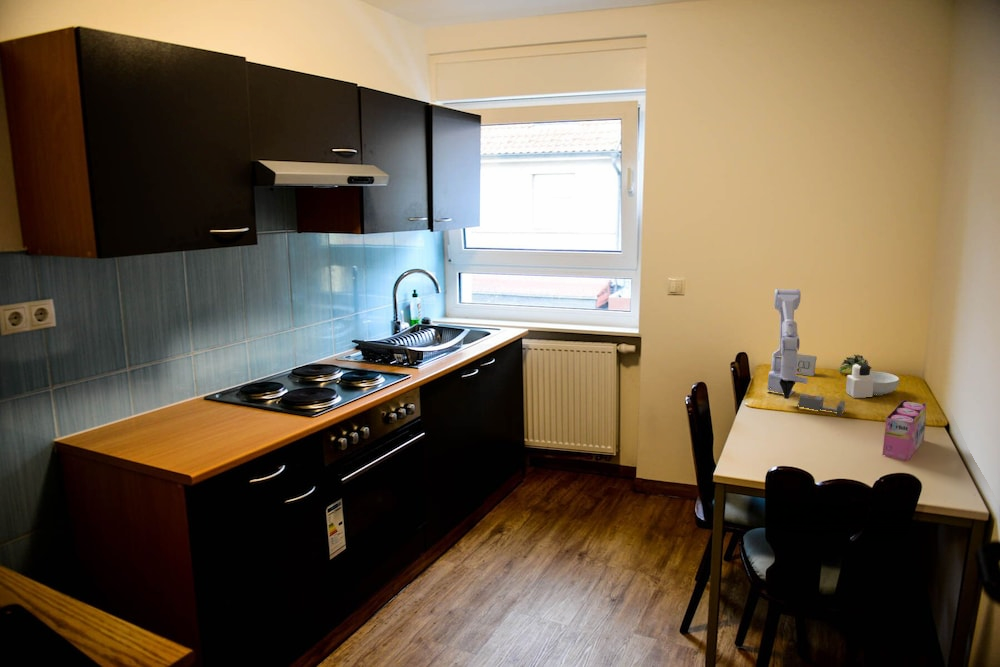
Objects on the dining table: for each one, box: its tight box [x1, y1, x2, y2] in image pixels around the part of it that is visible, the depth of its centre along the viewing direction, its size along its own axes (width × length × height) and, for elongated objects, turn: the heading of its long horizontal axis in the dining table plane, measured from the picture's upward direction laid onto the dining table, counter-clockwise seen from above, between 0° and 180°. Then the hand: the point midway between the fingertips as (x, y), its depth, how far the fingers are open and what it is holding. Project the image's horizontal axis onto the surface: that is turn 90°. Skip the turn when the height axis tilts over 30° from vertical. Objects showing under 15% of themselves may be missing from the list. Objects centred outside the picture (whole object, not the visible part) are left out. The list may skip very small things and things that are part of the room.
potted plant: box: [837, 354, 872, 375], centre depth 323 cm, size 11×11×12 cm
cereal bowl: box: [869, 370, 900, 396], centre depth 299 cm, size 17×17×7 cm
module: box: [798, 393, 825, 412], centre depth 283 cm, size 8×5×6 cm, turn 54°
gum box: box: [881, 399, 928, 461], centre depth 243 cm, size 24×8×14 cm, turn 138°
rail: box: [797, 400, 846, 417], centre depth 281 cm, size 16×7×4 cm, turn 54°
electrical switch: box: [796, 353, 818, 377], centre depth 327 cm, size 9×5×9 cm, turn 53°
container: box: [845, 364, 874, 399], centre depth 295 cm, size 8×8×13 cm
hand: (786, 398), depth 288 cm, fingers closed
